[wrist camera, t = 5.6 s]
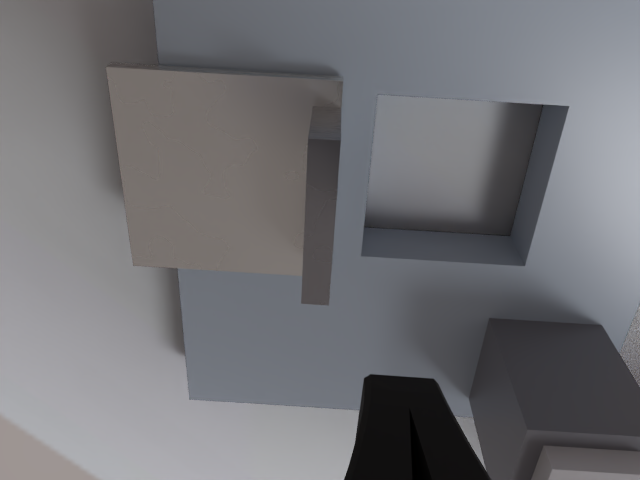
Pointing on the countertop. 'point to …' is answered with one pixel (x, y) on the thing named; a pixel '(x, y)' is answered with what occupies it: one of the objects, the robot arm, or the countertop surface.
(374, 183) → the countertop surface
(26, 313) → the countertop surface
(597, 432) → the plug
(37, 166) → the countertop surface
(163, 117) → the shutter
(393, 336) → the socket panel
